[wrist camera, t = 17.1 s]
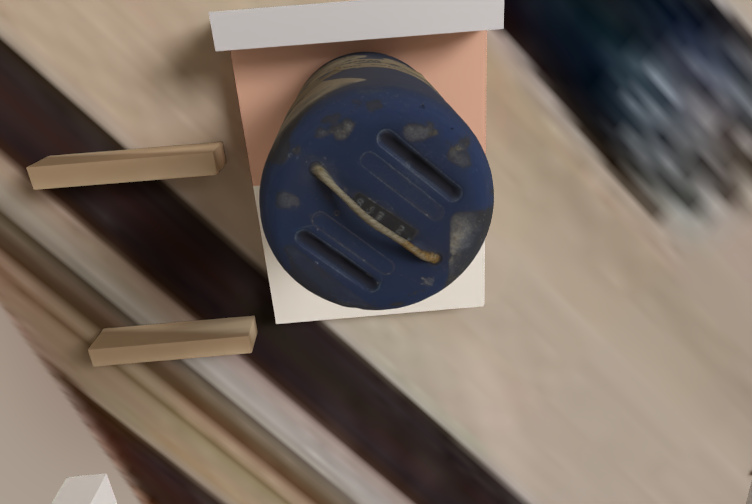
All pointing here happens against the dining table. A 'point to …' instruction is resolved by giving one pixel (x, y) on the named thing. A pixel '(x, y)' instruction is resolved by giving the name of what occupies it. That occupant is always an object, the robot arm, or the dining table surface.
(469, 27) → the board
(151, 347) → the rails
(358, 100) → the canister
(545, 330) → the dining table surface
